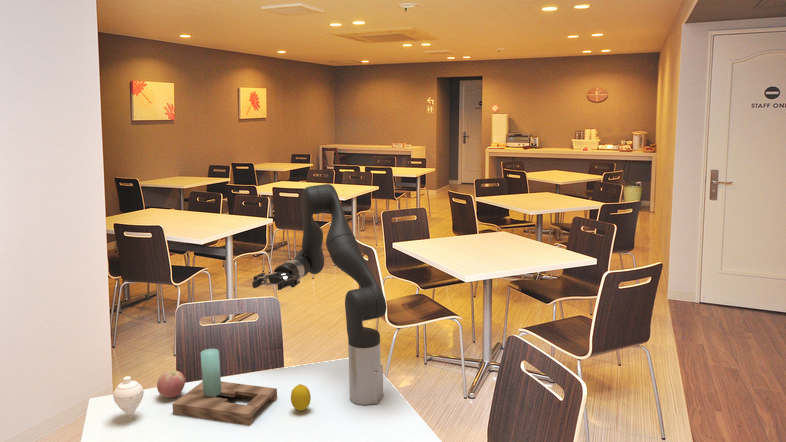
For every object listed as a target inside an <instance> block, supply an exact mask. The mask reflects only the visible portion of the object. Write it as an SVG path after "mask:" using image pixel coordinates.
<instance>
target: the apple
mask: <svg viewBox="0 0 786 442" xmlns="http://www.w3.org/2000/svg"><path fill="white" fill-rule="evenodd" d="M185 385H186V379H185V375H184V374H183V373H182V372H181V371H178V370H173V369H169V370H165V371H164V372H162V373H161V374H160V375H159V377H158V379H157V383H156V388H157V391H158V393H159V395H160V396H162V397H164V398H165V397H166V398H169V399H170V398H175V397H178V396H179V395H180V394H181V393H182V391H183V390H184V388H185Z"/></svg>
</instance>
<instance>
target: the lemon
mask: <svg viewBox="0 0 786 442" xmlns="http://www.w3.org/2000/svg"><path fill="white" fill-rule="evenodd" d="M311 399H312V398H311V392H310V389H309V388H308V386H306V385H304V384H302V383H300V384H297V385H296V386H294V388H293V389H292V390H291V392H290V402H291V405H292V407H293V408H294V409H296V410H297V411H299V412H303V411H304V410H306V409H307V408H308V407H309V406H310V404H311Z"/></svg>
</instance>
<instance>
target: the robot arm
mask: <svg viewBox="0 0 786 442" xmlns="http://www.w3.org/2000/svg"><path fill="white" fill-rule="evenodd" d="M301 213H302V215H301V216H302V228H303V230H302V231H303V233H302V239H301V240H302V241H301V249H299V251H298V252H297V254H296V256H295V257H294V258H293V259H291V260H288V261H285V262H284V263H282V264H279V265H278V266H276V267H275V268H274V270H273V271H272V273H267V274H266V272H261V273H259V274H256V275H254V276H253V280H252V282H251V284H252V288H253V289H257V288H259V287H261V286H267V287H268V286H271V285H273V286H276V285H277V290H278V291H282V289H285V288H289V287H290V288H295V287H296V286H298V285H299V284H300V283H301V279H302V278H303V277H305V276H307V275H308V274H309V273H310V274H311V275H317V274H319V273H321V272H322V270H323V269H324V267H325V256H324V253H323V248H322V246H323V242H324V232H323V230H322V228H321V227H320V225H319V224H318V223H317V222H316V220H315V218H314V217H313V216H314V215H318V214H319V215H320V214H324V213H325V214H326V213H330V215H331V217H332V218H331V222H330V226H329V229H328V232H327V235H326V237H325V246H326V250H327V252H328V254H329V257H330V259H331V261H332V263H333V264H334V265H335V266H336V267H337V268H338V269H339V270H340V271H342V272H344V273H345V274H346V275H348V276H349V277H351V279H353V280H354V281H355V282H356V283H357V284H358V285H359V287H360V288H356V289H351V290H348V291H347V292H346V294H345V297H344V298H345V299H344V308H345V320H346V321H345V323H346V332H347V340H348V341H347V343H348V344H347V345H348V379H349V380H348V381H349V383H348V384H349V387H348V388H349V390H348V391H349V401H350V402H351V403H353V404H355V405H361V406H368V405H378V404H379V402H380V401H381V399H382V398H383V396H384V367H383V364H381V334H380V332H379V331H378V330H377V329H374V328H371V327H367V326H363V325H364V324H363V322H365V321H369V320H370V321H371V320H375V319H379V318H382V317H384V316H385V314H386V313H387V301H386V298H385V295H384V292H383V291H382V289H381V287H380V285H379V284H378V282H377V280H376V278H375V277H374V275H373V273H372V271H371V269H370V268H369V265H368V263H367V262H366V260H365V258H364V255H363V254H362V251H361V248H360V245H359V244H358V241H357V239H356V237H355V235H354V233H353V230H352V228H351V226H350V225H349V222H348V219H347V218H346V217H347V216H346V215H345V212H344V209H343V206H342V204H341V200H340V198H339V195H338V191H336V188H335V187H334V186H333V185H332V184H329V183H325V184H318V185H309V186H306V187H304V189H303V190H302V195H301Z"/></svg>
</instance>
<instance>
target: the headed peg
mask: <svg viewBox="0 0 786 442" xmlns="http://www.w3.org/2000/svg"><path fill="white" fill-rule="evenodd" d="M200 366H201V367H200V368H201V378H202V381H201V382H203V395H204V396H207V397H216V398H223V396H221V395H219V394H220V393H221V382H222V380H221V379H222V378H221V362H220V351H219V349H217V348H206V349H204V350H203V349H202V351H200Z"/></svg>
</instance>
